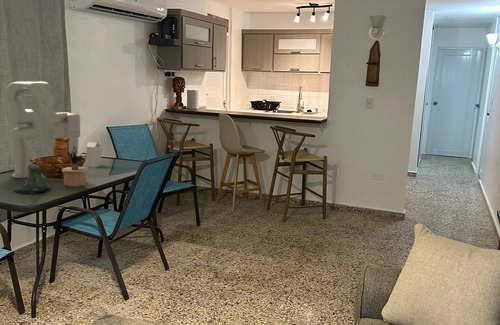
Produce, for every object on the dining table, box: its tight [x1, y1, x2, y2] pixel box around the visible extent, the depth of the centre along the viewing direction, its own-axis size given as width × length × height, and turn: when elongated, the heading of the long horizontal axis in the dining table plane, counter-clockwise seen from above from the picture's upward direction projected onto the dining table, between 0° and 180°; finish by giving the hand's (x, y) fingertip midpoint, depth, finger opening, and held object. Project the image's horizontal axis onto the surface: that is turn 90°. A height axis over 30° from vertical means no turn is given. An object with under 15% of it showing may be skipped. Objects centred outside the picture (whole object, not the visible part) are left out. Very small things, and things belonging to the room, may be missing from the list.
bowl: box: [63, 171, 88, 187], centre depth 270 cm, size 13×13×8 cm
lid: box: [61, 161, 89, 174], centre depth 269 cm, size 15×15×6 cm
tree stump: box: [13, 163, 51, 194], centre depth 252 cm, size 18×20×18 cm
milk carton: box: [85, 139, 102, 168], centre depth 318 cm, size 7×7×19 cm
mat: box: [87, 170, 111, 179], centre depth 294 cm, size 16×16×1 cm
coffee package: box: [52, 136, 71, 157], centre depth 309 cm, size 10×12×22 cm
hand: (74, 161), depth 268 cm, fingers open, 9 cm apart
